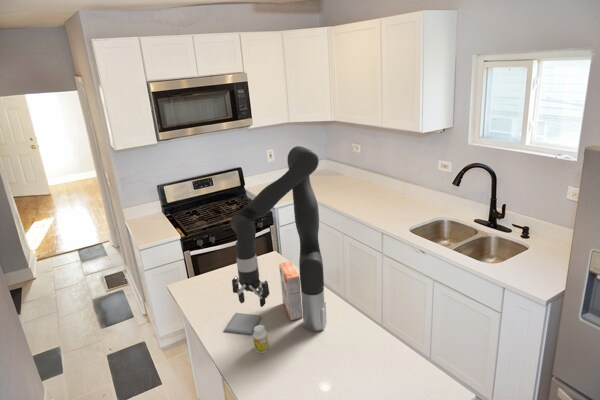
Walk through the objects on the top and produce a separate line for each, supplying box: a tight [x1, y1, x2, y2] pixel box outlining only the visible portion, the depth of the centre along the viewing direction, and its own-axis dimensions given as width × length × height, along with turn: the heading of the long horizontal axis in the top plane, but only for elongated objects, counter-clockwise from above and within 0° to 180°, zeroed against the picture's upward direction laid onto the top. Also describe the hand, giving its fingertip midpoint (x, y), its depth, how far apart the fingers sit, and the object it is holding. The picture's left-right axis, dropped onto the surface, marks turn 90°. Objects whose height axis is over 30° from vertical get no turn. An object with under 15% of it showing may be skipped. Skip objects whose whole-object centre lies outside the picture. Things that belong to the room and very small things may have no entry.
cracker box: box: [278, 261, 303, 321], centre depth 178 cm, size 14×6×21 cm, turn 15°
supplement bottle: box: [252, 324, 269, 354], centre depth 158 cm, size 5×5×10 cm
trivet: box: [223, 312, 262, 336], centre depth 175 cm, size 12×12×1 cm
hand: (252, 303), depth 156 cm, fingers open, 8 cm apart
